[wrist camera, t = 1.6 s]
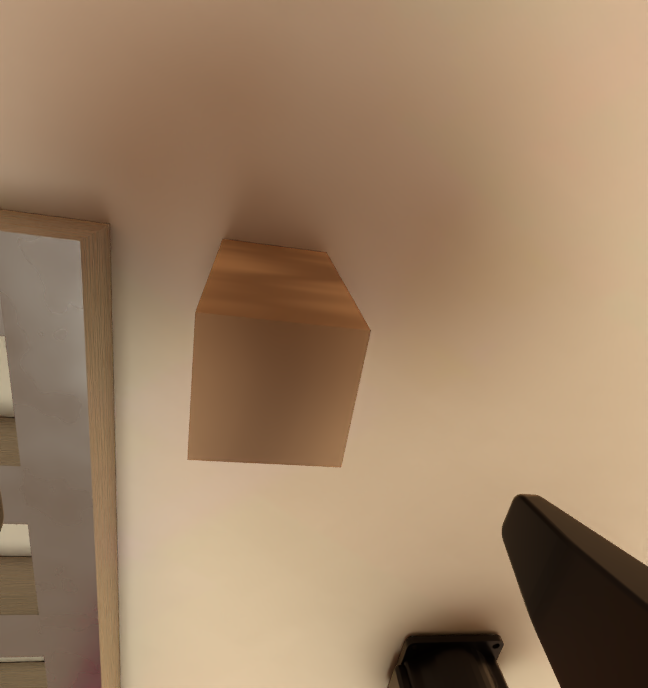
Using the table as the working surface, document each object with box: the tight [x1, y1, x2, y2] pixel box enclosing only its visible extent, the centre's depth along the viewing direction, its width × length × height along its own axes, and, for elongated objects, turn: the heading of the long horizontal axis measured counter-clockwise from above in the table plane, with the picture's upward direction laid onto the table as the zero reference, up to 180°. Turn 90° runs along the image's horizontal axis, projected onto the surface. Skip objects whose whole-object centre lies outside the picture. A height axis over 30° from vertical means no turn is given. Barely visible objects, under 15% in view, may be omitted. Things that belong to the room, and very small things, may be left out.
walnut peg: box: [187, 239, 371, 467], centre depth 15 cm, size 4×4×8 cm
